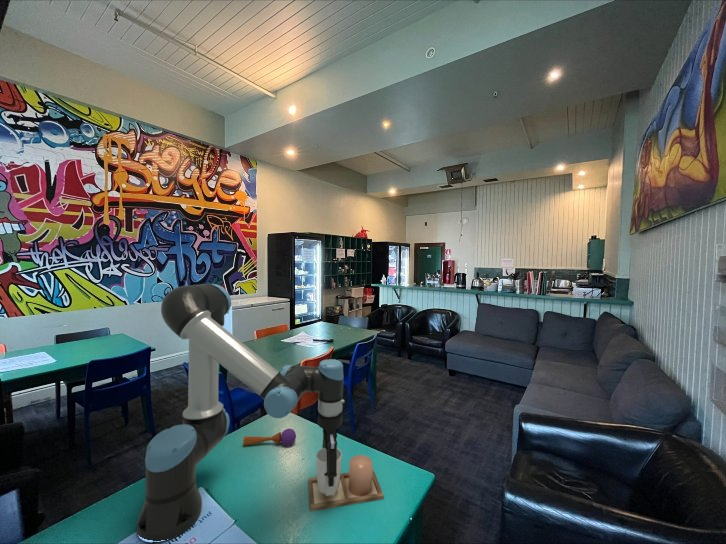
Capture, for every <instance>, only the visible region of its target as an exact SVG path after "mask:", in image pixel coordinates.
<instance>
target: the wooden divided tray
mask: <svg viewBox="0 0 726 544" xmlns="http://www.w3.org/2000/svg"><path fill="white" fill-rule="evenodd" d="M307 481H308V482H307V483H308V484H307V485H308V495H309V496H308V497H309V509H310V511H309V512H315V511H321V510H327V509H328V510H329V509H333V508H338V507H339V508H340V507H344V506H350V505H354V504H356V505H357V504H364V503H368V502H375V501H380V500H384V498H385V496H384V493H383V491H382V487H381V485H380V483H379V480H378V477H377V475H376V473H375V469H374V468H372V490H371V492H370V493H369V494H368V495H365V496H356V495H354V494H352V493H351V492H350V490H349V472H340V483H339V488H338V490H337V491H336V492H335V495H329V496H326V494H324V493H321V492H320V491H319V490H318V486H317V476H314V477H309V478H308V479H307Z"/></svg>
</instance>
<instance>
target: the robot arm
mask: <svg viewBox="0 0 726 544" xmlns="http://www.w3.org/2000/svg"><path fill="white" fill-rule="evenodd" d="M231 306H232V298H231V296H230V293H229V292H228V291H227V290H226V289H225V288H224V287H223V286H221V285H219V284H216V283H201V284H192V285H181V286H177V287H176V288H173V289H171V290H170V291H169V292H168V293H167V294H166V295H165V296H164V298H163V299H162V301H161V308H160V312H161V317H162V319H163V321H164V323H165V324H166V325H167V327H168V328H169V329H170V330H171V331H172V332H173V333H174V334H176V336H178V337H179V338H180V339H182V340H188V381H187V382H188V384H187V386H188V387H187V388H188V390H187V391H188V392H187V393H188V394H187V395H188V396H187V401H188V402H187V403H188V404H187V407H186V408H185V409H184V410H183V412H182V424H176V425H172V426H171V427H170V428H166V429H164V430H162V431H160V432H159V433H157V434H156V435H155V436H153V438H151V440H150V441H149V442H148V445H147V447H146V453H145V459H144V465H145V467H144V468H145V470H144V471H145V478H144V479H145V498H144V499H145V500H144V503H143V505H142V508H141V511H140V513H139V516H138V518H137V521H136V522H137V523H136V535H137V534H138V535H139V536H140V537H142V538H144V539H147V540H153V541H161V540H167V539H170V540H173V539H174V538H177V537H179V536H180V535H182V534H184V533H185V532H186V531H188V530H189V529H190V528H191V527H192V526H193V525H194V524H195V523H196V522H197V521H198V519H199V518H198V517H200V516H199V515H201V514H202V510H201V509H203V500H202V499H203V498H202V496H201V493H200V490H199V488H198V486H197V483H196V467H197V466H198V465H199V463H200V462H201V461H202V460H203V459H204V458H205V457H206V456H207V455H208V454H209V453H210V452H211V451H212V450H213V449H214V448H215V447H216V446H217V445H218V444H219V443H221V441H222V440H223V439H224V437H225V436H226V435H227V433H228V431H229V427H230V423H231V422H230V416H229V414H228V413H229V412H227V411H226V409H225V408H224V403H222V402H221V401H219V375H220V373H219V372H220V371H219V370H220V369H219V368H220V367H219V366H220V365H221V366H222V367H223V368H224V369H226V370H227V371H228V372H229V373H231V374H232V375H233V376H234V377H236V379H238V380H240V382H241V383H243V384H244V385H246V386H247V387H248V388H249V389H250V390H252V391H253V392H255V394H257V395H258V396H259V397H260V398H261V399H263V400H264V401H263V407H264V410H265V412H266V414H267V415H268V416H270V417H271V418H274V419H283V418H285V417H287V416H288V415H289V414H290V413H291V412H292V411H293V410H294V409H295V408H296V407H297V404H298V403H299V401H300V400H301V398H302V397H303V395H304V394H305V393H317V394H318V396H317V397H318V398H317V399H318V400H317V401H318V402H317V411H318V412H317V425H318V426H319V428H321V429H322V445H321V447H322V448H326V451H327V472H326V473H324V475H325V476H326V496H329V495H335V477H337V447H338V441H337V439H338V431H336V430H337V429H339V428H340V427H341V426H342V424H343V404H344V403H345V399H343V398H344V396H343V395H344V364H343V362H341V361H340V360H338V359H334V358H332V359H323V360H321V361H320V362H319V365H318V366H311V365H310V366H307V365H297V364H293V365H291V364H290V365H289V364H287V365H284V366H282V368H281V369H280V371H278V370H277V369H276V368H275V367H273V366H272V365H271V364H269V363H268V362H267V361H266V360H264V359H263V358H262V357H261V356H260V355H259V354H257V352H255V351H253V350H252V349H251V348H249V347H248V346H247V345H246V344H245V343H243V342H242V341H241V340H239V338H237V337H236V336H235V335H233V334H232V333H231V331H228V330H227V329H226V328H224V327H225V315H227V314H228V312H229V311H230V309H231V308H232V307H231ZM200 513H201V514H200ZM187 529H188V530H187ZM172 538H173V539H172ZM167 541H168V540H167Z"/></svg>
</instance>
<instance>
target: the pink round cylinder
mask: <svg viewBox="0 0 726 544" xmlns="http://www.w3.org/2000/svg"><path fill="white" fill-rule="evenodd" d="M373 464H374V463H373V460H372V459H371V457H370V456H367V455H364V454H358V455H354V456H352V457H351V458H350V459H349V463H348V467H349V469H348V471H349V490H350V492H351V493H352V494H354V495H356V496H365V495H368V494H369V493H370V492H371V490H372V469H373Z"/></svg>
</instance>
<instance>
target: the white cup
mask: <svg viewBox="0 0 726 544" xmlns="http://www.w3.org/2000/svg"><path fill="white" fill-rule="evenodd" d="M315 457H316V459H315V460H316V477H317V486H318V490H319V491H320V492H321V493H324V494H326V476H325V475H324V473H326V472H327V451H326V448H323V447H322V448H321V449H319V450H318V451H317V452H316V456H315ZM342 457H343V453H342V451H341V450H340V449H339V448H337V477H335V492H336V491H337V490H338V488H339V483H340V474H341V473H342V472H341V470H342Z"/></svg>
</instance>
